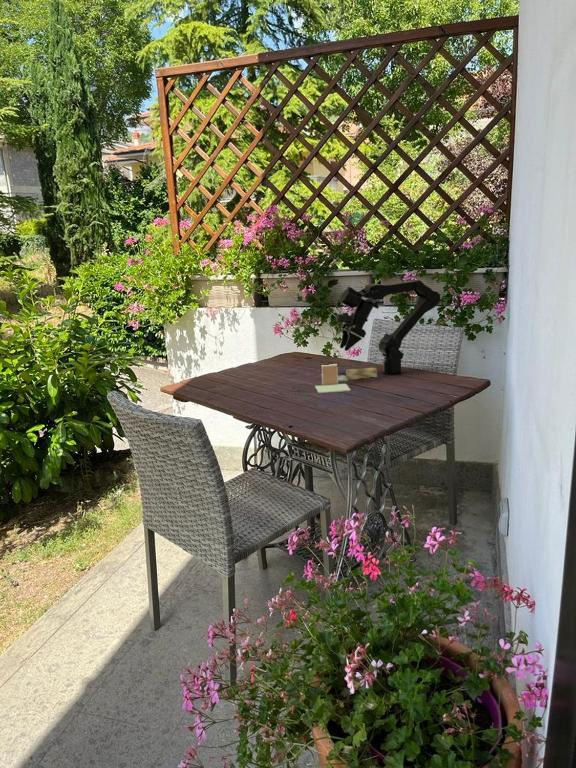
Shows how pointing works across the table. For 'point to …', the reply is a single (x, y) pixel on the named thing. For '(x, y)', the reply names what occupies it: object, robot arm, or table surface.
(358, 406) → the table surface
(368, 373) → the turner
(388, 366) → the robot arm
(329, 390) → the mat
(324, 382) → the tile
